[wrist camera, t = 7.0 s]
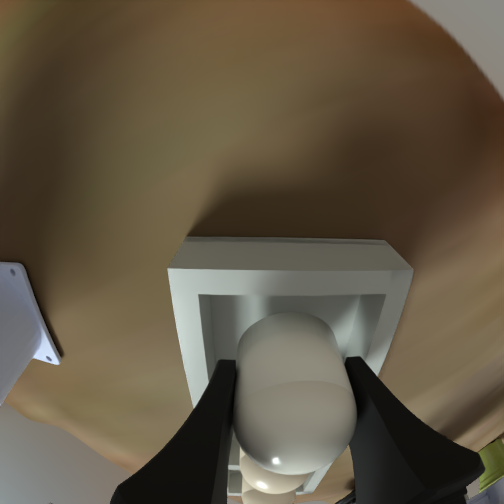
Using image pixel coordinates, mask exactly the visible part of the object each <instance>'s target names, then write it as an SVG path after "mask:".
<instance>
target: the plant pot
mask: <svg viewBox="0 0 504 504" xmlns="http://www.w3.org/2000/svg"><path fill="white" fill-rule="evenodd" d="M478 453H479V455H480V457H481V459H482V461H483V464H484V466H485V468H486V469H485V472H484V473H483V474H482V475H481V476H480V477H479V481H480V484H479V487H480V491H479V492H478V493H481V492H482V491H484V490H486V489H487V488H488V487H489V486H491V485H492V484H493V483H495V482H496V481H498V480H499V479H501V478H502V477H504V444H503V442H502V441H501V439H496V440H495V441H494V442H493V443H490V444H488V445H487V446H486V447H484V448H483V449H481V450H480V451H479V452H478Z"/></svg>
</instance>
